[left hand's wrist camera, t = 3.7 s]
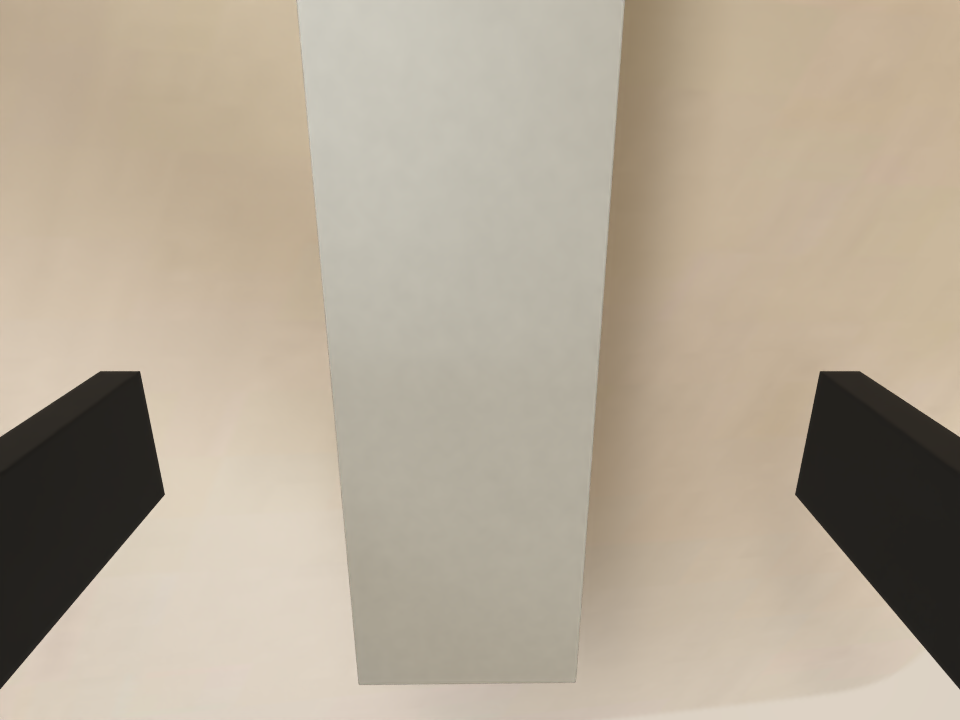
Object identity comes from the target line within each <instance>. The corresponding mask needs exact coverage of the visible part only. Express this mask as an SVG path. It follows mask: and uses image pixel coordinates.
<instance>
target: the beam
mask: <svg viewBox="0 0 960 720" xmlns="http://www.w3.org/2000/svg"><path fill="white" fill-rule="evenodd" d="M296 1H297V12H298V23H299V34H300V45H301V56H302V67H303V78H304V89H305V100H306V111H307V122H308V133H309V144H310V155H311V166H312V177H313V188H314V199H315V210H316V221H317V232H318V243H319V254H320V265H321V276H322V287H323V298H324V309H325V320H326V331H327V342H328V353H329V364H330V375H331V386H332V397H333V408H334V419H335V430H336V441H337V452H338V463H339V474H340V485H341V496H342V507H343V518H344V529H345V540H346V551H347V562H348V573H349V584H350V595H351V606H352V617H353V629H354V640H355V651H356V662H357V673H358V683H359V685H402V684H495V683H575V682H576V675H577V661H578V647H579V633H580V619H581V606H582V592H583V578H584V564H585V550H586V536H587V522H588V508H589V494H590V480H591V466H592V452H593V439H594V425H595V411H596V397H597V383H598V369H599V355H600V341H601V327H602V313H603V299H604V285H605V272H606V258H607V244H608V230H609V216H610V202H611V188H612V174H613V160H614V146H615V132H616V119H617V105H618V91H619V77H620V63H621V49H622V35H623V21H624V7H625V0H296Z"/></svg>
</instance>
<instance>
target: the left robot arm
mask: <svg viewBox="0 0 960 720" xmlns="http://www.w3.org/2000/svg"><path fill="white" fill-rule="evenodd" d="M164 495H165V493H164V488H163V483H162V478H161V473H160V468H159V463H158V458H157V453H156V448H155V443H154V439H153V434H152V429H151V424H150V419H149V414H148V409H147V404H146V399H145V394H144V389H143V384H142V379H141V374H140V371H100V372H99V373H97V374H96V375H94V376H92V377H91V378H89V379H88V380H86V381H85V382H83V383H82V384H80V385H79V386H77V387H76V388H74V389H73V390H71V391H70V392H68V393H67V394H65V395H64V396H62V397H61V398H59V399H58V400H56V401H54V402H53V403H51V404H50V405H48V406H47V407H45V408H44V409H42V410H41V411H39V412H38V413H36V414H35V415H33V416H32V417H30V418H29V419H27V420H26V421H24V422H23V423H21V424H20V425H18V426H16V427H15V428H13V429H12V430H10V431H9V432H7V433H6V434H4V435H3V436H1V437H0V689H1V688H2V687H3V685H4V684H5V683H6V682H7V681H8V679H9V678H10V677H11V676H12V675H13V674H14V672H15V671H16V670H17V669H18V668H19V666H20V665H21V664H22V663H23V662H24V661H25V659H26V658H27V657H28V656H29V655H30V653H31V652H32V651H33V650H34V649H35V648H36V646H37V645H38V644H39V643H40V642H41V640H42V639H43V638H44V637H45V636H46V635H47V633H48V632H49V631H50V630H51V629H52V627H53V626H54V625H55V624H56V623H57V622H58V620H59V619H60V618H61V617H62V616H63V614H64V613H65V612H66V611H67V610H68V608H69V607H70V606H71V605H72V604H73V603H74V601H75V600H76V599H77V598H78V597H79V595H80V594H81V593H82V592H83V591H84V590H85V588H86V587H87V586H88V585H89V584H90V582H91V581H92V580H93V579H94V578H95V577H96V575H97V574H98V573H99V572H100V571H101V569H102V568H103V567H104V566H105V565H106V564H107V562H108V561H109V560H110V559H111V558H112V556H113V555H114V554H115V553H116V552H117V551H118V549H119V548H120V547H121V546H122V545H123V543H124V542H125V541H126V540H127V539H128V538H129V536H130V535H131V534H132V533H133V532H134V530H135V529H136V528H137V527H138V526H139V524H140V523H141V522H142V521H143V520H144V519H145V517H146V516H147V515H148V514H149V513H150V511H151V510H152V509H153V508H154V507H155V506H156V504H157V503H158V502H159V501H160V500H161V498H162V497H163V496H164ZM795 495H796V496H797V497H798V498H799V500H800V501H801V502H802V503H803V504H804V506H805V507H806V508H807V509H808V510H809V511H810V513H811V514H812V515H813V516H814V517H815V519H816V520H817V521H818V522H819V523H820V524H821V526H822V527H823V528H824V529H825V530H826V532H827V533H828V534H829V535H830V536H831V538H832V539H833V540H834V541H835V542H836V543H837V545H838V546H839V547H840V548H841V549H842V551H843V552H844V553H845V554H846V555H847V556H848V558H849V559H850V560H851V561H852V562H853V564H854V565H855V566H856V567H857V568H858V569H859V571H860V572H861V573H862V574H863V575H864V577H865V578H866V579H867V580H868V581H869V582H870V584H871V585H872V586H873V587H874V588H875V590H876V591H877V592H878V593H879V594H880V595H881V597H882V598H883V599H884V600H885V601H886V603H887V604H888V605H889V606H890V607H891V608H892V610H893V611H894V612H895V613H896V614H897V616H898V617H899V618H900V619H901V620H902V622H903V623H904V624H905V625H906V626H907V627H908V629H909V630H910V631H911V632H912V633H913V635H914V636H915V637H916V638H917V639H918V640H919V642H920V643H921V644H922V645H923V646H924V648H925V649H926V650H927V651H928V652H929V653H930V655H931V656H932V657H933V658H934V659H935V660H936V662H937V663H938V664H939V665H940V666H941V668H942V669H943V670H944V671H945V672H946V674H947V675H948V676H949V677H950V678H951V679H952V681H953V682H954V683H955V684H956V685H957V686H958V688H959V689H960V437H959V436H957V435H956V434H954V433H953V432H951V431H950V430H948V429H947V428H945V427H944V426H942V425H940V424H939V423H937V422H936V421H934V420H933V419H931V418H930V417H928V416H927V415H925V414H924V413H922V412H921V411H919V410H918V409H916V408H915V407H913V406H912V405H910V404H909V403H907V402H906V401H904V400H902V399H901V398H899V397H898V396H896V395H895V394H893V393H892V392H890V391H889V390H887V389H886V388H884V387H883V386H881V385H880V384H878V383H877V382H875V381H874V380H872V379H871V378H869V377H868V376H866V375H864V374H863V373H861V372H860V371H820V374H819V379H818V384H817V389H816V394H815V399H814V404H813V409H812V414H811V419H810V424H809V429H808V434H807V439H806V443H805V448H804V453H803V458H802V463H801V468H800V473H799V478H798V483H797V488H796V493H795Z"/></svg>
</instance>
